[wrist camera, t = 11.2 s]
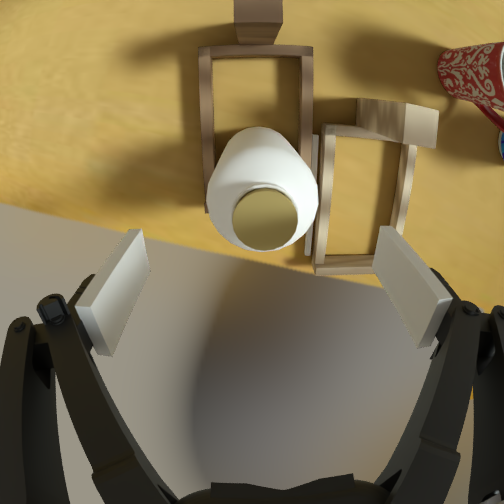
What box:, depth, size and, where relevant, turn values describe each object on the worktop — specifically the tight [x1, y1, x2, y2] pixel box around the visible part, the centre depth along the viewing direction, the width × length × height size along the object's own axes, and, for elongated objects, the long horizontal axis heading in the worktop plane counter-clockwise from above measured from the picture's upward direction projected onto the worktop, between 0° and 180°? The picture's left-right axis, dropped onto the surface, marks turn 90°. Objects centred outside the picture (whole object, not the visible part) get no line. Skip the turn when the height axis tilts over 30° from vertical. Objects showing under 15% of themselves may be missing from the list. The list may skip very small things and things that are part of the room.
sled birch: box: [312, 98, 439, 276], centre depth 30 cm, size 22×12×12 cm, turn 1°
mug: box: [437, 42, 504, 133], centre depth 21 cm, size 13×9×14 cm
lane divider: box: [304, 134, 319, 256], centre depth 36 cm, size 16×1×1 cm, turn 1°
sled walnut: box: [198, 0, 313, 213], centre depth 25 cm, size 22×12×12 cm, turn 1°
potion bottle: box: [206, 126, 318, 252], centre depth 26 cm, size 8×8×18 cm
